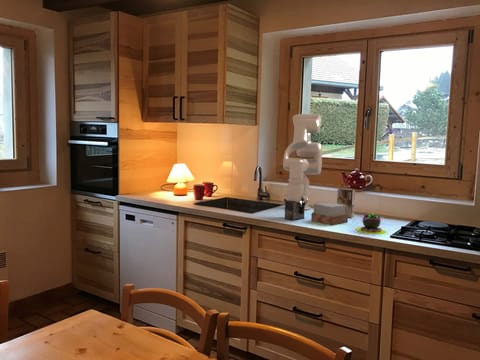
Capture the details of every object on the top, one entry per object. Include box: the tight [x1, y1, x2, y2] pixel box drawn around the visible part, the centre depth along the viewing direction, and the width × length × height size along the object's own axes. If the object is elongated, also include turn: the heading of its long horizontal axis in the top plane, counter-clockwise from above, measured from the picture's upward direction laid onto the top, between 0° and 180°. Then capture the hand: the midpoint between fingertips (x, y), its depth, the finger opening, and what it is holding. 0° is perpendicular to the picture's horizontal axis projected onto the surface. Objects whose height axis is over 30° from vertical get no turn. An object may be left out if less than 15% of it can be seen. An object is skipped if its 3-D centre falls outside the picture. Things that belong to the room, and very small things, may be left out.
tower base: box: [310, 212, 349, 227], centre depth 242 cm, size 14×14×5 cm
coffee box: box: [336, 188, 356, 219], centre depth 259 cm, size 9×6×16 cm
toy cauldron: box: [355, 210, 387, 235], centre depth 222 cm, size 15×15×11 cm
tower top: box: [313, 201, 346, 216], centre depth 241 cm, size 12×12×5 cm
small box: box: [284, 200, 306, 221], centre depth 247 cm, size 11×6×10 cm, turn 135°
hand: (294, 212), depth 247 cm, fingers open, 8 cm apart
